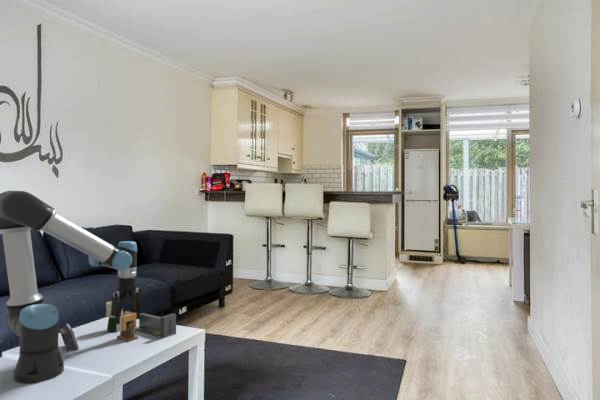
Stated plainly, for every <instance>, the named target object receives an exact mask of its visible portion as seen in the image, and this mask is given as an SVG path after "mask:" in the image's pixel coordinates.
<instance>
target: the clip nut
mask: <svg viewBox="0 0 600 400" xmlns="http://www.w3.org/2000/svg"><path fill="white" fill-rule="evenodd" d="M132 312H133V311H132ZM132 312H131V311H129V310H124V312H123V314H121V316H122V330H123V331H125V330H126V322H131V323H134V329H135V327H136V328H137V319H136V317H137V318H138V313H137V314H136V313H132ZM116 329H117V324H116Z"/></svg>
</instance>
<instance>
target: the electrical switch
mask: <svg viewBox="0 0 600 400" xmlns="http://www.w3.org/2000/svg"><path fill="white" fill-rule="evenodd" d="M58 331H59V333H60V335H61V337H62V340H63V344H64V346H65V348H66V347H67V348H66V349H67V351H68V352H70V351H73V350H79V349H80V348H79V347H80V346H79V345H78V341H77V338H76V335H75V332H74V330H73V328H72V326H71V325H70V324H69V323H66V324H65V326H64V327H62V328H58Z"/></svg>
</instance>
